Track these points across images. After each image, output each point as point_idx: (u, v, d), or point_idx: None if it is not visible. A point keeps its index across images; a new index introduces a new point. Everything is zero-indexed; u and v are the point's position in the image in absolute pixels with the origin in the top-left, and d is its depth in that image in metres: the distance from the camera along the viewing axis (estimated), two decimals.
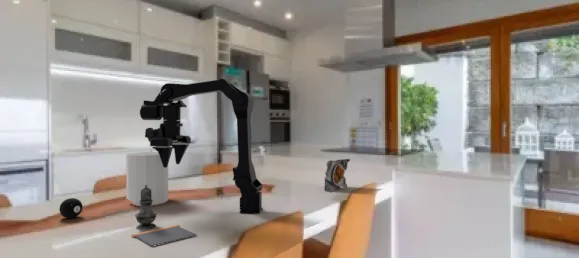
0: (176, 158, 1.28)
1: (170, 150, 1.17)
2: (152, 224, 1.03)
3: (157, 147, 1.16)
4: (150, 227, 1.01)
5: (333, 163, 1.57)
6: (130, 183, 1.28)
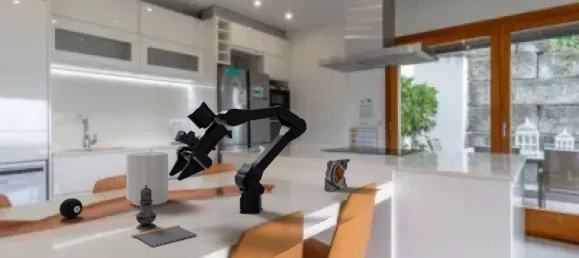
0: (173, 169, 1.11)
1: None
2: (152, 224, 1.03)
3: (196, 160, 1.02)
4: (150, 227, 1.01)
5: (333, 163, 1.57)
6: (130, 183, 1.28)
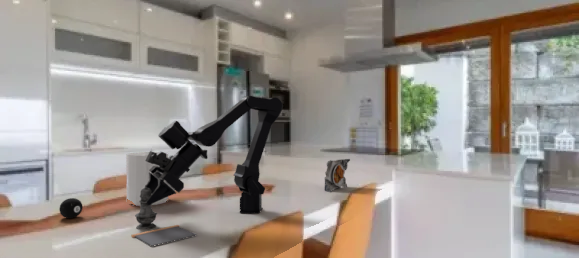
0: None
1: None
2: (152, 224, 1.03)
3: (166, 184, 0.97)
4: (150, 227, 1.01)
5: (333, 163, 1.57)
6: (130, 183, 1.28)
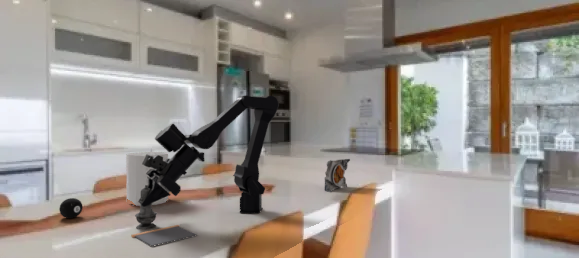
0: None
1: None
2: (152, 224, 1.03)
3: (160, 186, 0.99)
4: (150, 227, 1.01)
5: (333, 163, 1.57)
6: (130, 183, 1.28)
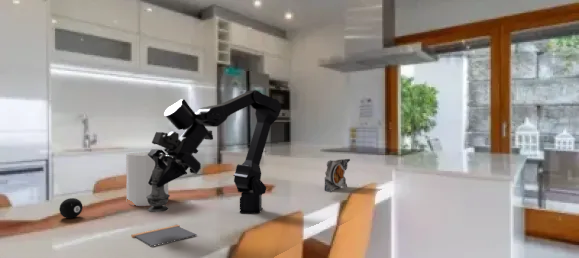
0: None
1: None
2: (164, 206, 0.96)
3: (178, 164, 0.93)
4: (164, 209, 0.94)
5: (333, 163, 1.57)
6: (130, 183, 1.28)
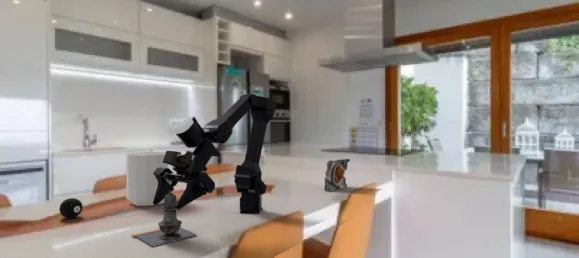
0: (158, 196, 0.94)
1: None
2: (175, 233, 0.94)
3: (199, 185, 0.90)
4: (178, 236, 0.92)
5: (333, 163, 1.57)
6: (130, 183, 1.28)
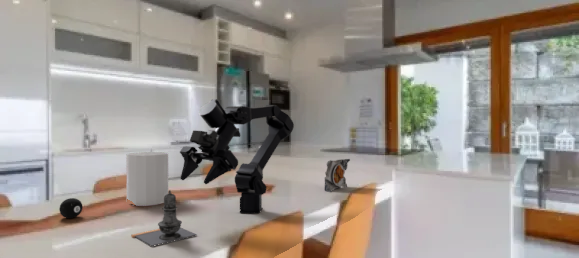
0: (185, 172, 1.03)
1: None
2: (175, 233, 0.94)
3: (224, 162, 0.98)
4: (178, 236, 0.92)
5: (333, 163, 1.57)
6: (130, 183, 1.28)
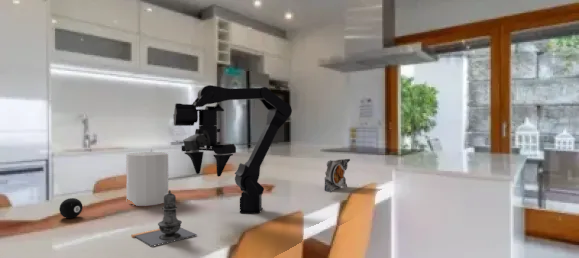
0: (197, 167, 1.16)
1: None
2: (175, 233, 0.94)
3: (225, 155, 1.09)
4: (178, 236, 0.92)
5: (333, 163, 1.57)
6: (130, 183, 1.28)
